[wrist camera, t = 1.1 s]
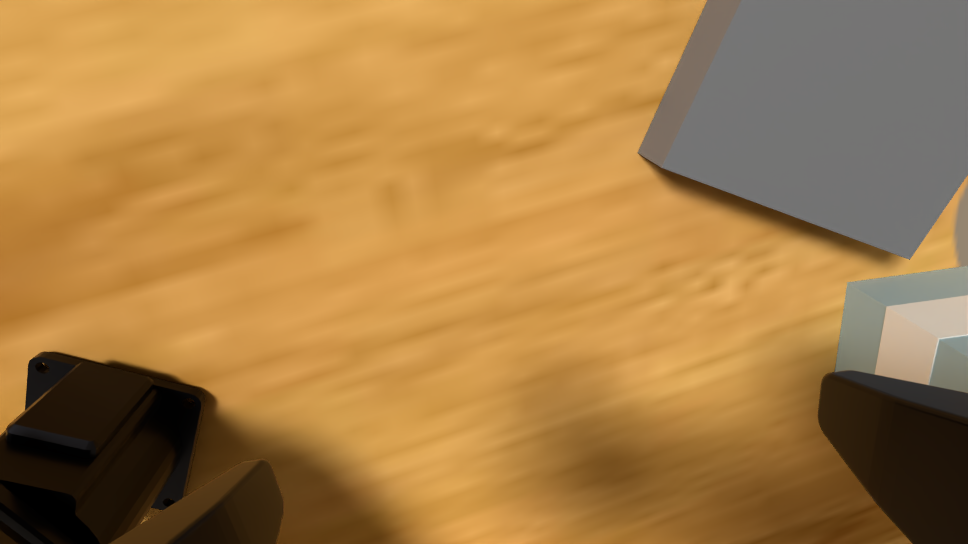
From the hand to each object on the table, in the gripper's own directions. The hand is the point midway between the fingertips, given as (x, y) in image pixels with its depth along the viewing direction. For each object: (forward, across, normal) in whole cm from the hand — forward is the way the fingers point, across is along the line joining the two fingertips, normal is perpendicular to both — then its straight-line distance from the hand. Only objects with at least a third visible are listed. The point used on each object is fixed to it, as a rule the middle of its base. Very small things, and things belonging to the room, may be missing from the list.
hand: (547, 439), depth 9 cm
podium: (+13, +12, +3) cm, 18 cm away
